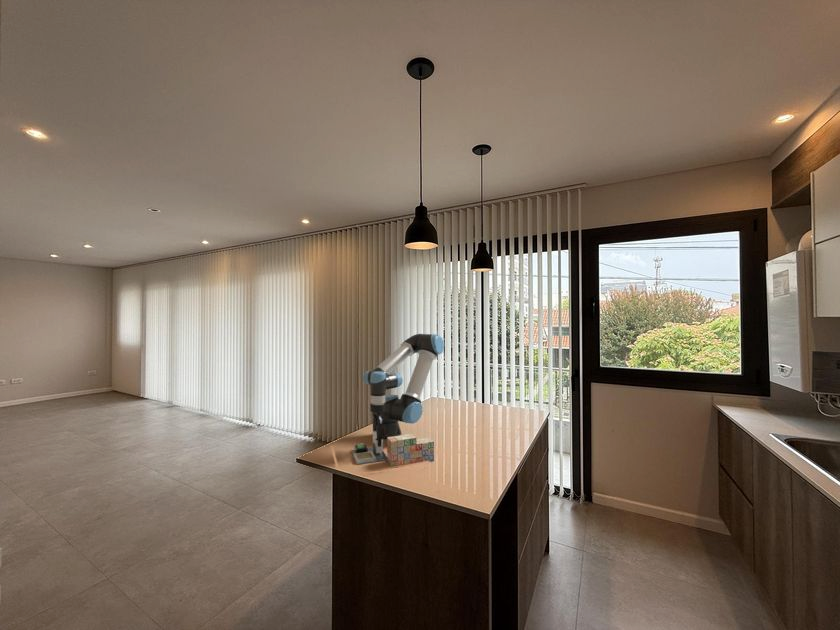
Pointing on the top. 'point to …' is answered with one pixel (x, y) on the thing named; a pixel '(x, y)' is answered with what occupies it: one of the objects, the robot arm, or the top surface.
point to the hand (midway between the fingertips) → (377, 450)
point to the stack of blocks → (409, 449)
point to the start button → (360, 445)
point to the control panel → (367, 456)
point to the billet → (375, 442)
